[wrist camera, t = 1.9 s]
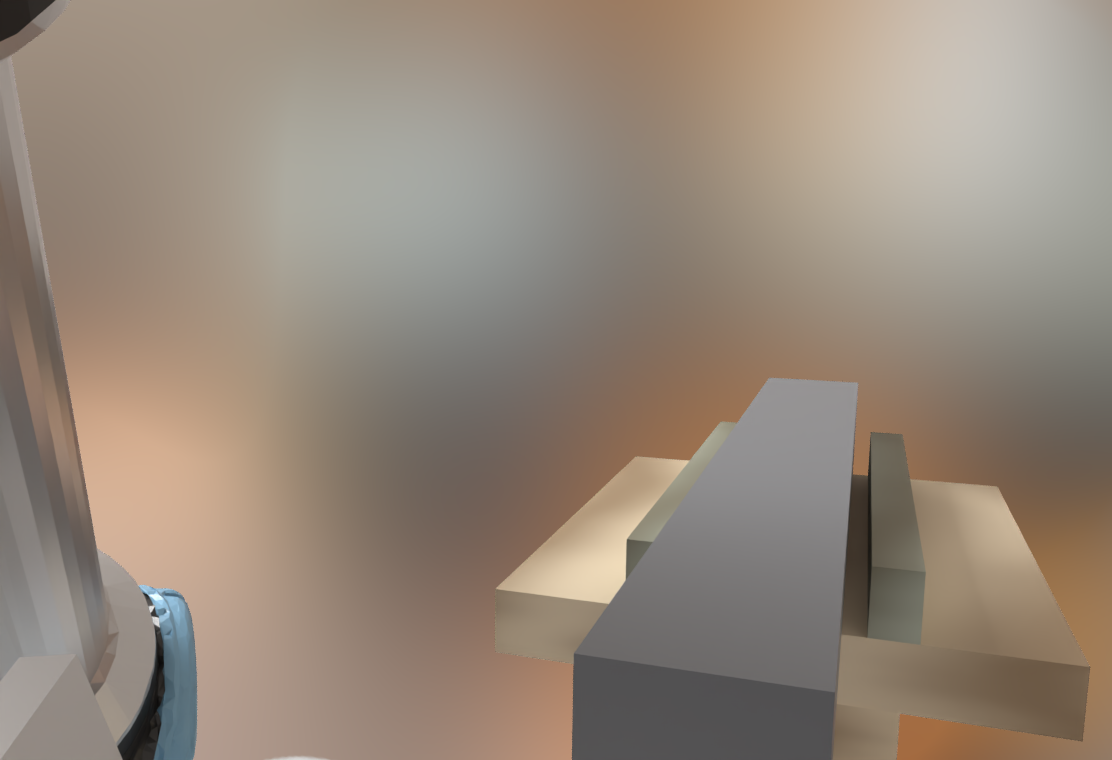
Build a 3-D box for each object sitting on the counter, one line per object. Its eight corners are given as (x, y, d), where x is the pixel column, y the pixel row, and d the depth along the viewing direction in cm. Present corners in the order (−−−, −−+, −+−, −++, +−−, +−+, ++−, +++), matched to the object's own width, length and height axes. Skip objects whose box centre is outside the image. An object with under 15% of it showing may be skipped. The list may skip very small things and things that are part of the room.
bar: (570, 882, 12) (573, 653, 12) (765, 460, 35) (769, 378, 34) (820, 937, 11) (834, 692, 11) (852, 467, 34) (858, 382, 33)
